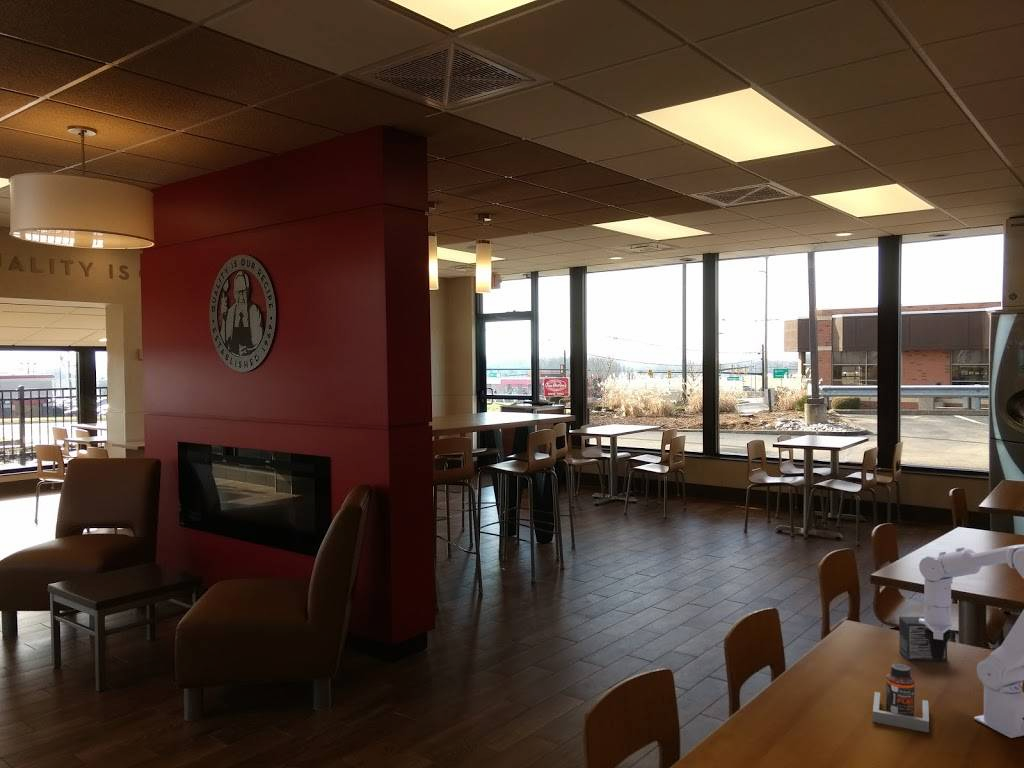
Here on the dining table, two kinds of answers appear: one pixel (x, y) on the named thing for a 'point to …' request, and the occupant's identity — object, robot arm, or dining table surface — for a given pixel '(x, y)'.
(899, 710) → the supplement bottle
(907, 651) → the small box
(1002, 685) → the robot arm
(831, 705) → the dining table surface
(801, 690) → the dining table surface
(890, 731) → the dining table surface
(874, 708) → the grey u-shaped bracket
